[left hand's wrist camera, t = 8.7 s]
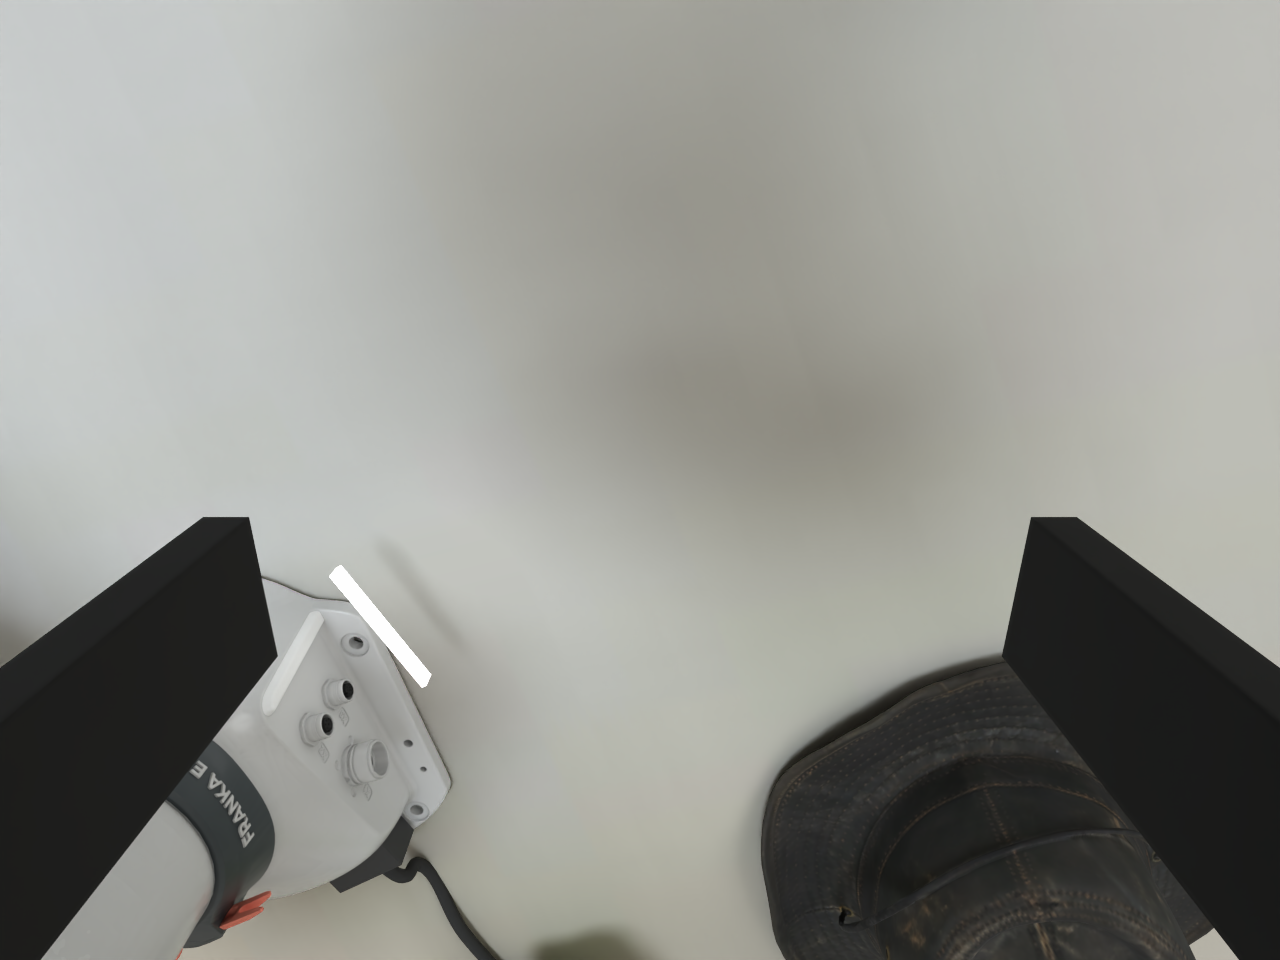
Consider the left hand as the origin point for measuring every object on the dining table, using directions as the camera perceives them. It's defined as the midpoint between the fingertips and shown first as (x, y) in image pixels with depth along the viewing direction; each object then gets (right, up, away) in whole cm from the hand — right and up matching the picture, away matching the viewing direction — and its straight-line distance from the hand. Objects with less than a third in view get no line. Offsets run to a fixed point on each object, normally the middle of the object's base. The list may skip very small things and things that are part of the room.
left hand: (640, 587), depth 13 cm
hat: (+25, -25, +40) cm, 53 cm away
